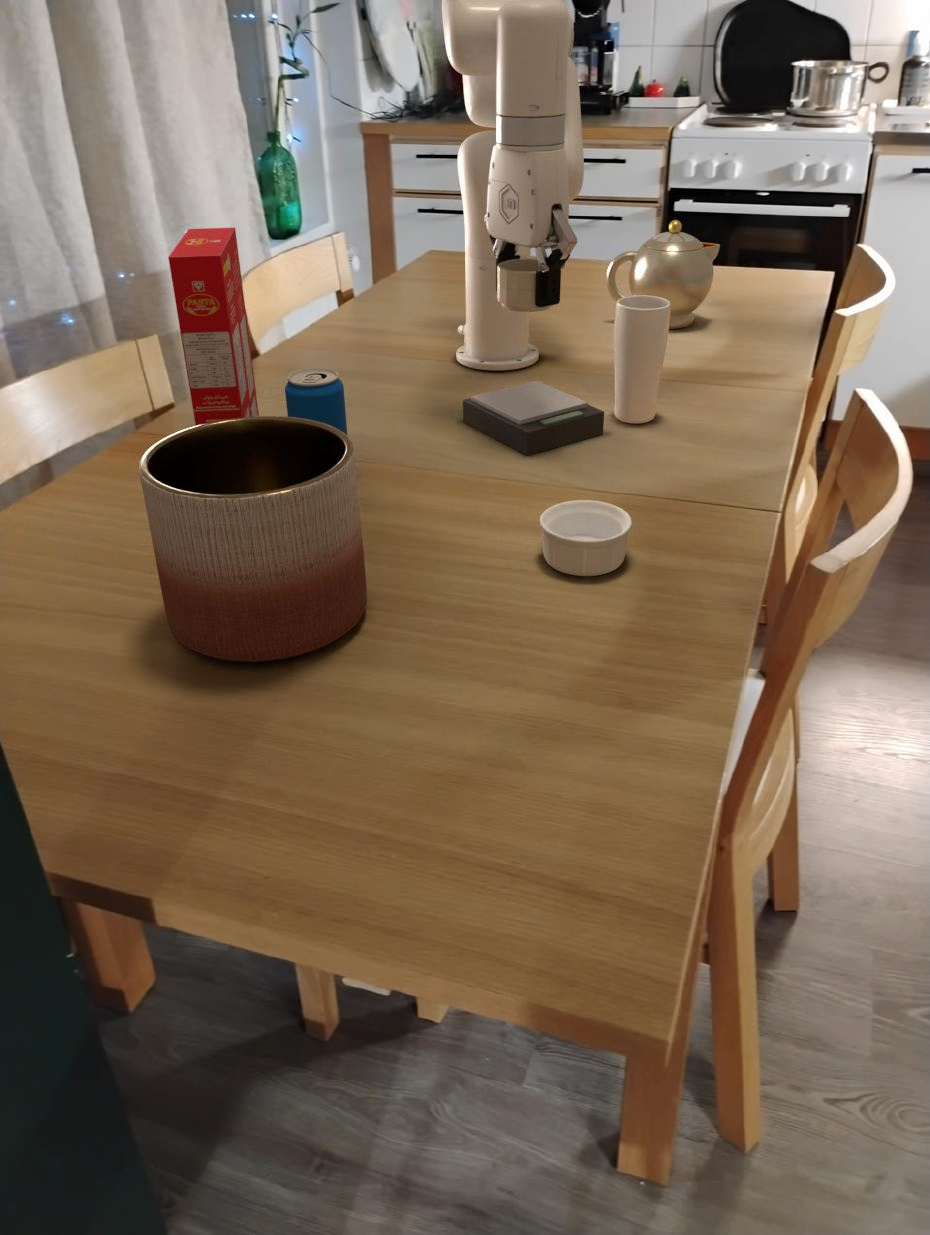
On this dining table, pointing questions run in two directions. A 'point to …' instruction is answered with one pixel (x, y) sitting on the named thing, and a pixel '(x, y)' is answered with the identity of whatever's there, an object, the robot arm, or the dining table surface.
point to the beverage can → (317, 397)
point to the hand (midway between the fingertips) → (527, 296)
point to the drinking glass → (639, 355)
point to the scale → (533, 417)
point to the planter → (256, 536)
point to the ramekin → (585, 537)
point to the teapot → (669, 272)
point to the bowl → (518, 285)
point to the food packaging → (213, 324)
